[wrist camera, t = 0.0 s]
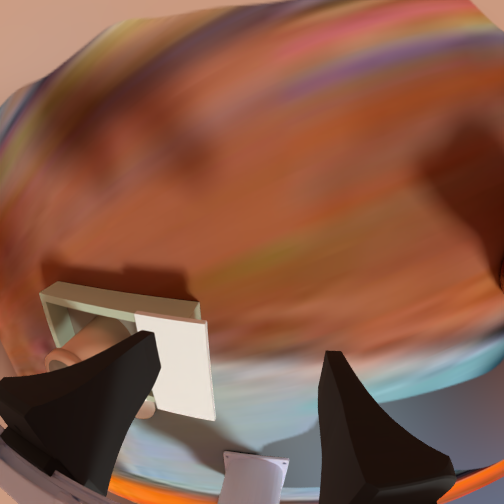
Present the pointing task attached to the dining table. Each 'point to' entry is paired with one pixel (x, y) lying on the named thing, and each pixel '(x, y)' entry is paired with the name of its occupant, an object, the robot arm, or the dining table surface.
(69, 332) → the box with sliding lid
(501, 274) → the mug
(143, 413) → the saucer
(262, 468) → the robot arm
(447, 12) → the dining table surface
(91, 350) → the pot
